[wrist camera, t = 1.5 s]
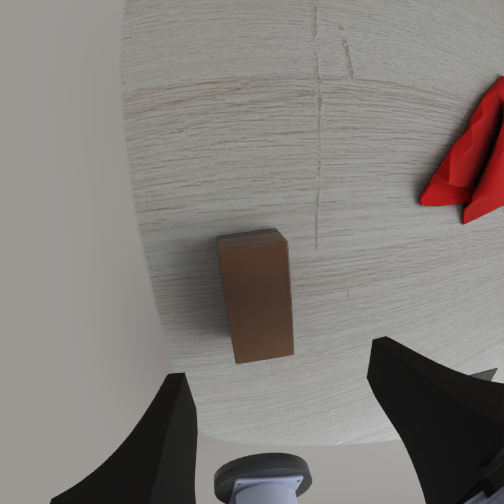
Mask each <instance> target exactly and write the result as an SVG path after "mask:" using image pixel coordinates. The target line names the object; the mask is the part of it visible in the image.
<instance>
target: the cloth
mask: <svg viewBox="0 0 504 504" xmlns="http://www.w3.org/2000/svg"><path fill="white" fill-rule="evenodd" d="M419 201H420V205H422V206H443V205H451V204H459V203H469V202H471V203H470V204H469V205H468V206H467V207H465V208H464V212H463V221H462V224H463V225H464V224H466V223H468V222H470V221H472V220H475V219H477V218H479V217H481V216H483V215H485V214H487V213H489V212H491V211H493V210H495V209H497V208H499V207H501V206H504V77H503V76H501V77H500V78H499V80H498V81H497V82H496V83H495V84H494V85H493V86H492V87H491V88H490V89H489V90H488V91H487V93H486V94H485V95H484V97H483V99H482V101H481V102H480V104H479V106H478V108H477V109H476V111H475V113H474V114H473V116H472V118H471V120H470V122H469V124H468V127H467V129H466V131H465V134H464V135H463V136H462V137H461V138H460V139H459V140H458V141H457V142H456V143H455V144H454V145H453V146H452V148H451V150H450V151H449V153H448V154H447V156H446V158H445V159H444V161H443V162H442V164H441V165H440V167H439V168H438V170H437V172H436V173H435V175H434V176H433V178H432V179H431V181H430V182H429V184H428V186H427V187H426V189H425V190H424V192H423V193H422V195H421V196H420V198H419Z"/></svg>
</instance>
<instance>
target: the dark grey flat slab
mask: <svg viewBox="0 0 504 504" xmlns="http://www.w3.org/2000/svg"><path fill="white" fill-rule="evenodd" d="M496 371H497V368H496V369H492V370H489V371H485V372H481V373H478V374H474V375H470V376H472V377H475V378H479V379H483V380H488V381H491V380H492V378H493V376H494V374H495V372H496Z"/></svg>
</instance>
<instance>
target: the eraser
mask: <svg viewBox="0 0 504 504" xmlns="http://www.w3.org/2000/svg"><path fill="white" fill-rule="evenodd" d="M217 243H218V256H219V263H220V269H221V276H222V283H223V289H224V296H225V302H226V309H227V315H228V321H229V327H230V333H231V339H232V345H233V351H234V357H235V362H236V364H240V363H247V362H253V361H260V360H266V359H272V358H278V357H283V356H289V355H293V354H294V337H293V316H292V297H291V280H290V264H289V250H288V241H287V240H286V239H285V238H284V237H283V236H282V235H281V233H280V232H279V231H278V230H277V229H267V230H260V231H252V232H244V233H237V234H229V235H222V236H218V237H217Z"/></svg>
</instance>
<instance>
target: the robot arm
mask: <svg viewBox="0 0 504 504" xmlns="http://www.w3.org/2000/svg"><path fill="white" fill-rule="evenodd" d="M367 379H368V382H369V384H370V386H371V389H372V391H373V393H374V395H375V397H376V399H377V401H378V402H379V404H380V405H381V407H382V409H383V410H384V412H385V413H386V415H387V416H388V418H389V420H390V421H391V423H392V424H393V426H394V427H395V429H396V431H397V432H398V434H399V435H400V437H401V439H402V441H403V443H404V444H405V447H406V449H407V451H408V454H409V456H410V458H411V460H412V463H413V465H414V468H415V470H416V473H417V476H418V479H419V481H420V484H421V488H422V491H423V494H424V497H425V501H426V504H504V383H497V382H492V381H488V380H483V379H479V378H475V377H472V376H469V375H466V374H463V373H460V372H457V371H455V370H452V369H450V368H448V367H445V366H443V365H441V364H439V363H436V362H434V361H432V360H430V359H428V358H426V357H424V356H422V355H421V354H419V353H417V352H415V351H413V350H411V349H409V348H408V347H406V346H404V345H402V344H400V343H398V342H396V341H395V340H393V339H391V338H389V337H387V336H385V337H381V338H377V339H374V340H373V341H372V348H371V355H370V362H369V368H368V374H367ZM197 431H198V430H197V412H196V407H195V404H194V401H193V398H192V394H191V391H190V388H189V385H188V382H187V379H186V375H185V373H173V374H168V375H167V376H166V378H165V380H164V382H163V384H162V385H161V387H160V390H159V391H158V393H157V395H156V396H155V398H154V399H153V401H152V403H151V404H150V406H149V408H148V409H147V411H146V412H145V414H144V415H143V417H142V418H141V420H140V421H139V422H138V424H137V425H136V427H135V428H134V429H133V431H132V432H131V433H130V435H129V436H128V437H127V438H126V440H125V441H124V442H123V443H122V444H121V445H120V446H119V448H118V449H117V450H116V451H115V452H114V453H113V454H112V455H111V456H110V457H109V458H108V459H107V460H106V461H105V462H104V463H103V464H102V465H101V466H100V467H98V468H97V469H96V470H95V471H94V472H92V473H91V474H90V475H89V476H87V477H86V478H85V479H83V480H82V481H81V482H79V483H78V484H76V485H75V486H73V487H72V488H70V489H68V490H67V491H65V492H63V493H61V494H60V495H58V496H56V497H54V498H52V499H51V502H50V504H196V500H195V465H196V449H197V434H198V432H197ZM302 480H303V475H294V476H282V477H264V478H237V479H236V480H235V483H234V486H233V490H232V493H231V497H230V500H229V504H298V502H297V498H296V495H295V491H296V490H297V488H298V486H299V485H300V483H301V481H302Z"/></svg>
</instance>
